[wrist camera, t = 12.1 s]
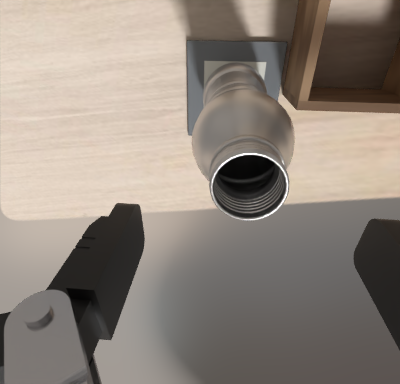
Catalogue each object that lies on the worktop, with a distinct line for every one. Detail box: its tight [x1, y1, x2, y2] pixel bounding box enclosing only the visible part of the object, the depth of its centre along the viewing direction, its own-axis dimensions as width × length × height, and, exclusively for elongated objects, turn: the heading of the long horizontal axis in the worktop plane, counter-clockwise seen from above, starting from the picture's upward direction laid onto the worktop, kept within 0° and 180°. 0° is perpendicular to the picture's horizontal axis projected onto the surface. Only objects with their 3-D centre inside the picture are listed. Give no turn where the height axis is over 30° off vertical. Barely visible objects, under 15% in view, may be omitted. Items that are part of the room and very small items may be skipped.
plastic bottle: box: [192, 62, 295, 221], centre depth 20 cm, size 6×7×20 cm
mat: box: [187, 40, 287, 136], centre depth 29 cm, size 10×10×1 cm
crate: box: [283, 0, 400, 113], centre depth 23 cm, size 11×11×6 cm
